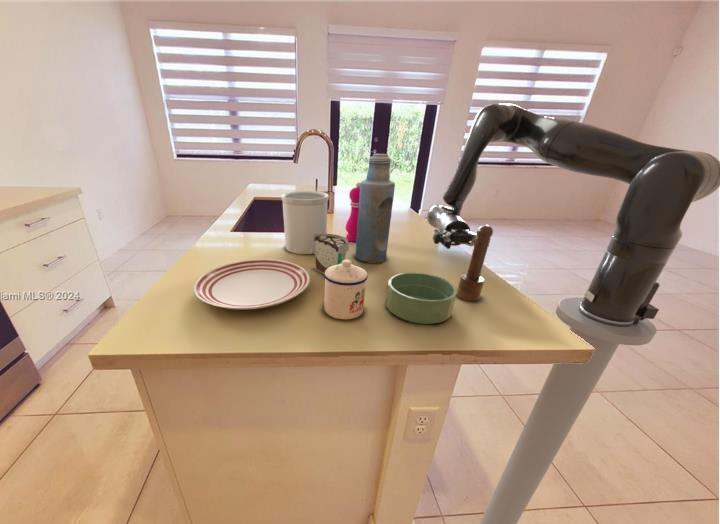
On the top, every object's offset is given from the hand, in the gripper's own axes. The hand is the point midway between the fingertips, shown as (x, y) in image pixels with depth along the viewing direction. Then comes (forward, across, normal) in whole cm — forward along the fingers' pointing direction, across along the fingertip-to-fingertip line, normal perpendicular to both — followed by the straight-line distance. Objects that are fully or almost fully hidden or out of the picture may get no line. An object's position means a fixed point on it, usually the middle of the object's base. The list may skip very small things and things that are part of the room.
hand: (466, 246), depth 81 cm
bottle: (-12, -24, +10) cm, 29 cm away
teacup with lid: (+21, -29, +10) cm, 37 cm away
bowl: (+19, -13, +10) cm, 25 cm away
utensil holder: (-17, -46, +10) cm, 50 cm away
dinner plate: (+17, -52, +10) cm, 56 cm away
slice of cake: (+2, -34, +10) cm, 35 cm away
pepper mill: (-30, -30, +10) cm, 44 cm away
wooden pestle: (+10, 0, +10) cm, 14 cm away
